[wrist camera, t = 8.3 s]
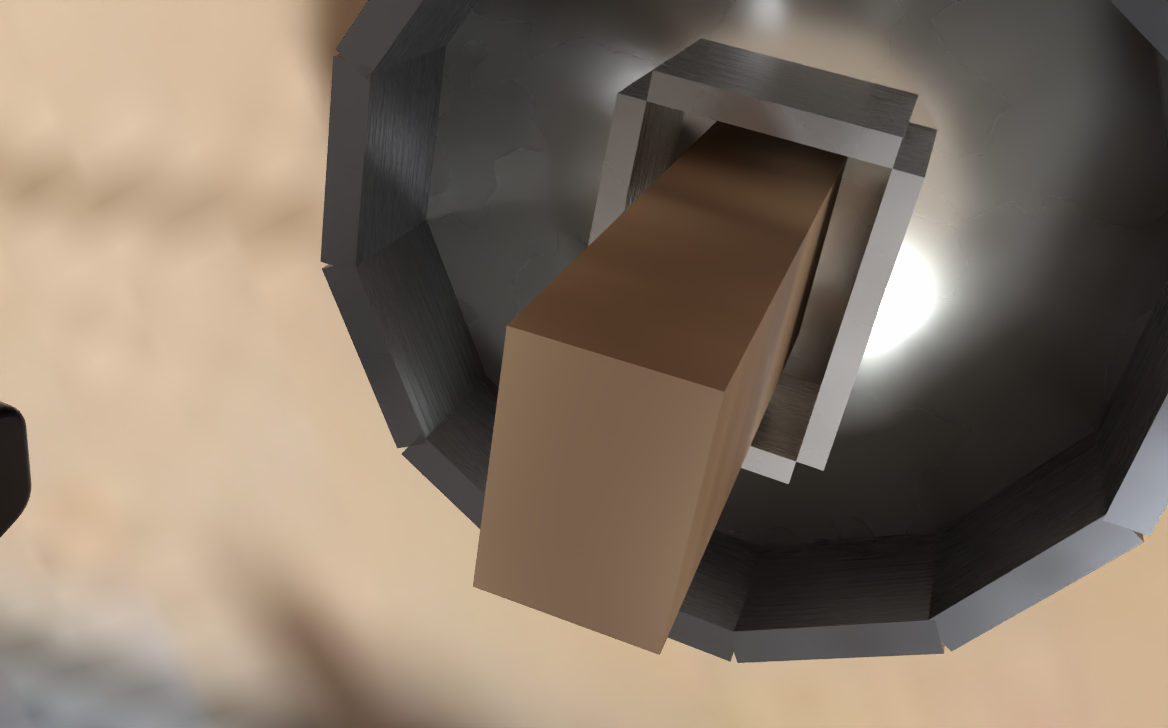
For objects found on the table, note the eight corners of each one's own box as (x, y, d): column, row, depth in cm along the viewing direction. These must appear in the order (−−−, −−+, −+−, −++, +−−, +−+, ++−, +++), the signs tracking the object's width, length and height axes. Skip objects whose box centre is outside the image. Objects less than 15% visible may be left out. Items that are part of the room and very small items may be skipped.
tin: (388, 419, 22) (302, 500, 19) (464, -299, 16) (352, -324, 13) (1020, 648, 19) (1021, 778, 17) (1401, -111, 13) (1496, -96, 11)
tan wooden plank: (679, 299, 18) (472, 586, 11) (717, 120, 16) (506, 325, 10) (799, 333, 17) (660, 654, 11) (849, 152, 16) (725, 392, 9)
